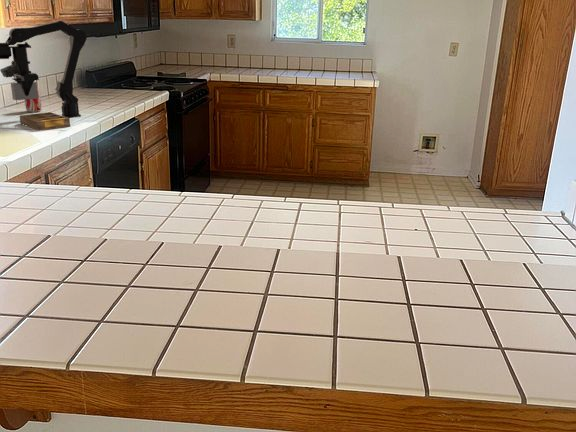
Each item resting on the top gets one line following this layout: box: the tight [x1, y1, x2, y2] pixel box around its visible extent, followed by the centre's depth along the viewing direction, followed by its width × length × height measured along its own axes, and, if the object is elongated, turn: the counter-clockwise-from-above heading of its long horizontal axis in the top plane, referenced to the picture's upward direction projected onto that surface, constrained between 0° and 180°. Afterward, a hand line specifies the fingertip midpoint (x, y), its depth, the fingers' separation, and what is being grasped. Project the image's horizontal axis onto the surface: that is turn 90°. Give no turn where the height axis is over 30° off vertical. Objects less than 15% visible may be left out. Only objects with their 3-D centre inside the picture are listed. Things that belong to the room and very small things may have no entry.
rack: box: [19, 111, 71, 131], centre depth 241 cm, size 14×18×4 cm
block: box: [10, 81, 39, 101], centre depth 248 cm, size 10×3×7 cm, turn 136°
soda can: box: [24, 86, 43, 113], centre depth 269 cm, size 7×7×12 cm
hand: (25, 95), depth 249 cm, fingers closed on block, 3 cm apart
